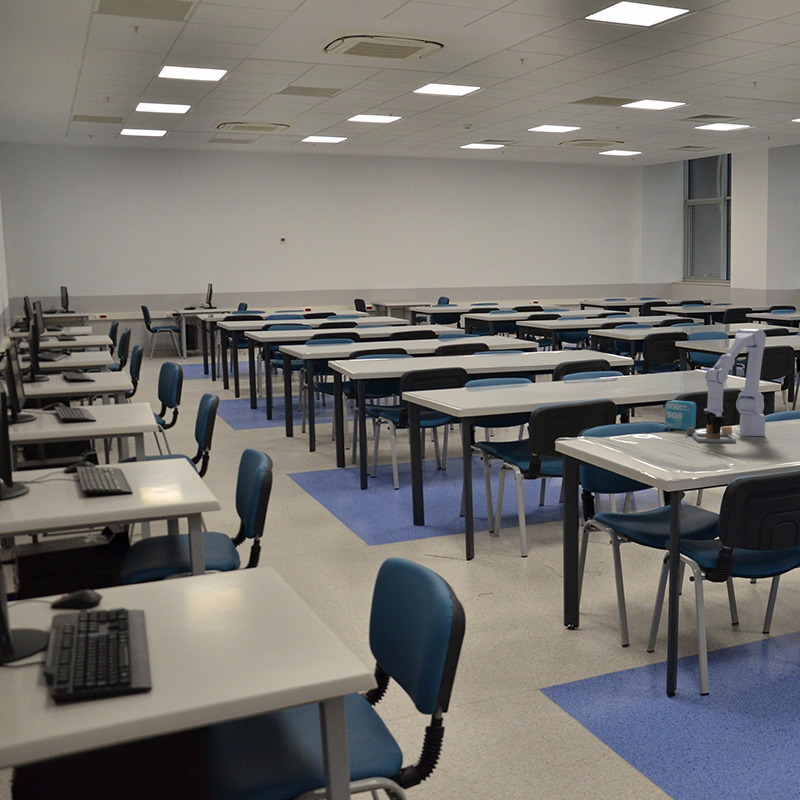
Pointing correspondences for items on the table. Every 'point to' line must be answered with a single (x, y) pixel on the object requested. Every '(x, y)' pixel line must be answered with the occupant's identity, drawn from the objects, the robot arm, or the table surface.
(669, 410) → the data package
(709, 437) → the walnut block
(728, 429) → the peach rounded tapered piece
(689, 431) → the rubber ball
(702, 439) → the tray
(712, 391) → the robot arm
